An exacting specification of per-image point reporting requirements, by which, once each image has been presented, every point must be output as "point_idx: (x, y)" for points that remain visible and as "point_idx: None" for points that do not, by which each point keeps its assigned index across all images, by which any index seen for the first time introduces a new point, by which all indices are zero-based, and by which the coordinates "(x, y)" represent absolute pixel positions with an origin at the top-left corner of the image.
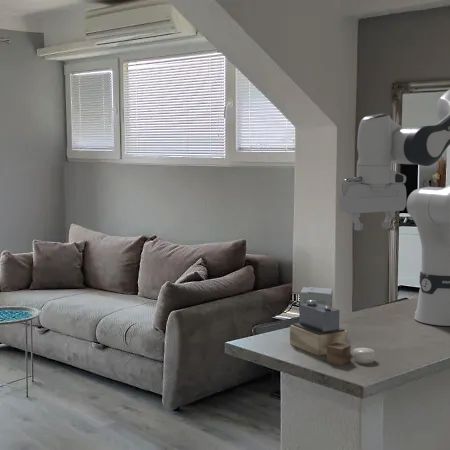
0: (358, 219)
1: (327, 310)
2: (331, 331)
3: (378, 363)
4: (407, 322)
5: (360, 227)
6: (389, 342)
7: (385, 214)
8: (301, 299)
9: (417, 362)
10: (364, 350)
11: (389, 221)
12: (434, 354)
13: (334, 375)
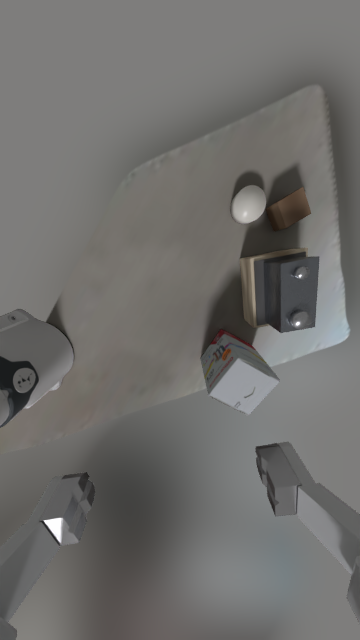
0: (350, 525)
1: (303, 266)
2: (280, 256)
3: (234, 184)
4: (89, 355)
5: (282, 457)
6: (163, 276)
7: (14, 632)
8: (273, 372)
9: (179, 166)
10: (248, 204)
11: (33, 525)
12: (132, 196)
13: (325, 151)
